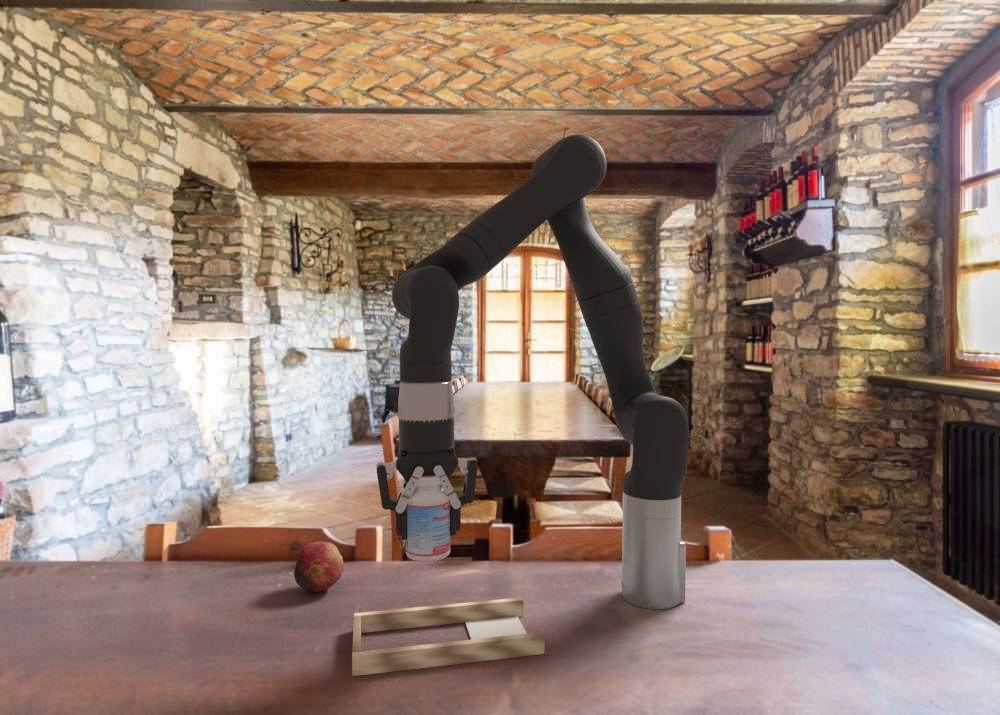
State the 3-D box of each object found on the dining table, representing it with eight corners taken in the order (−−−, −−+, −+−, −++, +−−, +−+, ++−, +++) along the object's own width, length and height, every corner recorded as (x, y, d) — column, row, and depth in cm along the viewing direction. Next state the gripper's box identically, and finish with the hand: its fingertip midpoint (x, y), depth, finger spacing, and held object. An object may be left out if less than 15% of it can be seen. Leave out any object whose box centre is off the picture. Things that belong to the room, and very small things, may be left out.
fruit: (349, 593, 98) (349, 545, 98) (302, 605, 94) (302, 555, 93) (334, 578, 104) (333, 533, 104) (289, 588, 100) (288, 541, 100)
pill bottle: (443, 564, 78) (442, 480, 78) (399, 561, 79) (397, 478, 79) (455, 548, 84) (454, 469, 84) (414, 546, 85) (413, 468, 85)
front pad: (517, 618, 89) (517, 616, 89) (534, 648, 81) (534, 646, 81) (465, 623, 88) (465, 621, 88) (476, 655, 79) (476, 653, 79)
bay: (521, 613, 91) (521, 597, 91) (544, 653, 79) (544, 635, 79) (354, 630, 86) (354, 613, 86) (352, 676, 74) (352, 656, 74)
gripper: (473, 409, 86) (474, 523, 87) (372, 413, 83) (374, 531, 84) (483, 416, 79) (484, 540, 79) (372, 420, 76) (375, 550, 76)
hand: (428, 535), depth 82 cm, fingers closed on pill bottle, 6 cm apart
